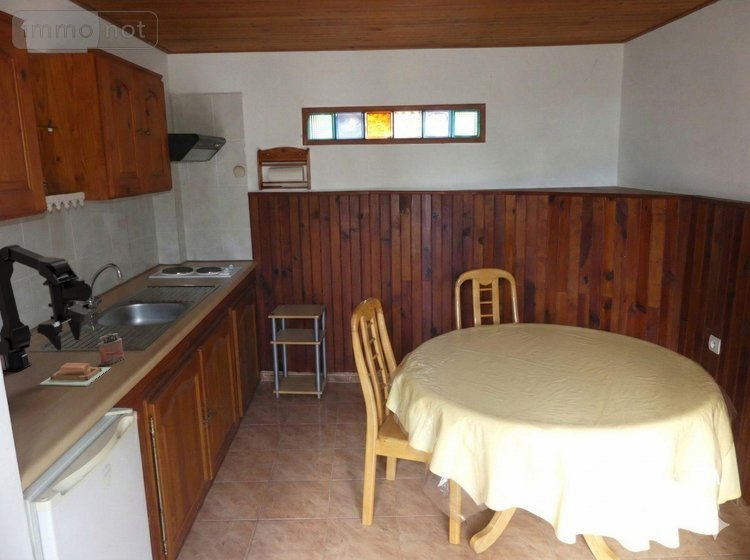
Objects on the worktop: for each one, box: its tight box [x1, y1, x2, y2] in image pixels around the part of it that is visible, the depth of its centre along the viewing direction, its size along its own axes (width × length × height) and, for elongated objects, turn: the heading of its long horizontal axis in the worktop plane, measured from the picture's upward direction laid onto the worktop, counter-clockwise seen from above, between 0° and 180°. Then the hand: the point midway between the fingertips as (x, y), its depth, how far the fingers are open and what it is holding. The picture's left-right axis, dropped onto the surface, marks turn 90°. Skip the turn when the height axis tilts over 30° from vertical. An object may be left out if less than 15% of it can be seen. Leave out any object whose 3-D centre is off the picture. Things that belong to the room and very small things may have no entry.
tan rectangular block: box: [59, 362, 91, 376], centre depth 189 cm, size 4×8×4 cm, turn 83°
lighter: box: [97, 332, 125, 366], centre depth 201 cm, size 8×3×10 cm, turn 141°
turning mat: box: [39, 366, 112, 387], centre depth 190 cm, size 16×14×2 cm
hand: (68, 345), depth 188 cm, fingers open, 9 cm apart
